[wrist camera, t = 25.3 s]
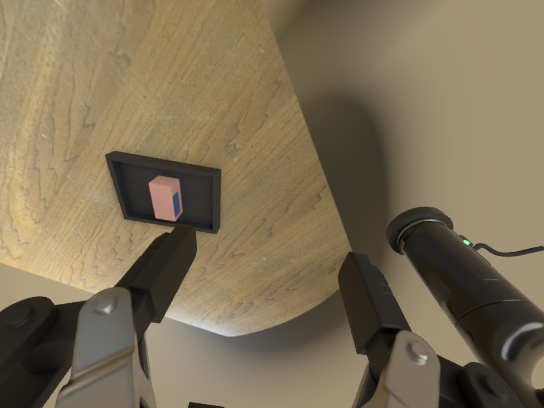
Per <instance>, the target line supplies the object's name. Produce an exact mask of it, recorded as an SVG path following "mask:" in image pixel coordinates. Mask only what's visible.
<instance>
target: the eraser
mask: <svg viewBox="0 0 544 408" xmlns="http://www.w3.org/2000/svg"><path fill="white" fill-rule="evenodd" d="M149 188H150V193H151V198H152V203H153V208H154V213H155V218H158V219H164V220H170V221H176V220H177V218H178V217H179V216H180V215H181V213H182V212H183V210H182V201H181V191H180V182H179V179H176V178H170V177H164V176H158V177H156V178H155V179H154V180H152V181H151V182H149Z"/></svg>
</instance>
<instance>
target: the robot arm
mask: <svg viewBox="0 0 544 408" xmlns="http://www.w3.org/2000/svg"><path fill="white" fill-rule="evenodd" d="M396 243H397V246H398V247H399V249H400V250H401V252H403V253H404V255H405V256H406V258H407V259H408V261H409V262H410V263H411V265H412V267H413V268H414V269H415V271H416V272H417V273H418V275H419V277H420V278H421V279H422V281H423V282H424V284H425V285H426V287H427V288H428V290H429V291H430V292H431V294H432V295H433V297H434V298H435V300H436V301H437V302H438V304H439V305H440V307H441V308H442V310H443V311H444V312H445V314H446V315H447V317H448V318H449V320H450V321H451V323H452V324H453V325H454V327H455V328H456V330H457V331H458V333H459V334H460V336H461V337H462V338H463V340H464V341H465V343H466V344H467V345H468V347H469V348H470V350H471V351H472V353H473V354H474V355H475V357H476V358H477V360H478V361H479V363H476V362H470V363H468V364H467V365H465V366H463V367H462V366H460V365H458V364H456V363H454V362H451V361H449V360H447V359H445V358H443V357H441V356H439V355H437V354H436V353H435V352H434V350H433V349H432V348H431V346H430V345H429V344H428V343H427V342H426V341H425V340H424V339H423V338H421V337H420V336H418V335H417V334H415V333H413V332H412V330H411V329H410V327H409V325H408V323H407V321H406V319H405V317H404V315H403V313H402V311H401V309H400V307H399V305H398V303H397V301H396V299H395V297H394V296H393V293H392V291H391V289H390V287H388V283H387V281H386V279H385V278H384V275H383V274H382V273H381V272H380V271H379V270H378V269H377V268H376V267H375V266H372V265H371V263H370V261H369V259H368V257H367V255H366V254H362V253H355V252H349V253H348V255H347V256H346V258H345V260H344V262H343V264H342V266H341V268H340V270H339V274H338V282H339V287H340V290H341V294H342V298H343V301H344V306H345V309H346V314H347V317H348V321H349V325H350V329H351V333H352V336H353V340H354V344H355V348H356V352H357V354H362V355H367V357H368V360H369V363H368V364H367V366H366V368H365V371H364V374H363V377H362V380H361V383H360V385H359V388H358V392H357V394H356V397H355V400H354V403H353V406H352V408H544V388H543V389H535V388H534V387H533V386H532V383H531V375H532V372H533V369H534V367H535V366H536V364H537V362H538V361H539V360H540V359H541V358H542V357H543V356H544V312H543V311H542V310H541V309H540V308H538V307H537V306H536V305H535V304H534V303H533V302H532V301H531V300H529V299H528V298H527V297H526V296H525V295H524V294H523V293H522V292H520V291H519V290H518V289H517V288H516V287H515V286H514V285H512V284H511V283H510V282H509V281H508V280H506V278H504V277H503V276H502V275H501V274H500V273H499V272H498V271H497V270H495V269H494V268H493V267H492V266H491V264H490V263H489V262H488V261H487V260H486V259H485V258H484V257H483V256H481V255H480V254H479V253H478V252H477V251H476V250H479V249H480V248H481V247H482V248H485V249H486V250H488V251H489V252H491V253H493V254H494V255H497V256H503V257H512V256H520V255H524V254H529V253H533V252H538V251H543V250H544V247H543V246H540V247H534V248H530V249H526V250H521V251H517V252H509V253H502V252H498V251H496V250H494V249H492V248H491V247H489V246H488V245H486V244H482V243H479V244H476V245H475V246H474V247H472V246H473V244H472V243H471V242H470V241H469V240H467V239H466V238H465V237H464V236H461V235H458V234H456V233H455V232H454V231H453V230H452V229H451V228H448V227H447V225H446V224H445V223H444V222H442V221H441V220H439V219H436V218H421V219H417V220H415V221H412V222H410V223H408V224H407V225H405V226H404V227H403V228H402V229H401V230H400V231H399V233H398V235H397V237H396ZM196 252H197V242H196V229H195V227H194V226H190V225H184V224H178V225H177V226H176V227H175V228H174V230H173V231H172V232H171V233H167V232H165V233H164V234H162V235H161V236H159V237H157V238H156V239H155V240H154V241H153V242H152V243H151V244H150V246H149V247H148V249H146V250H145V251H144V253H143V254H142V256H140V257H139V258H138V260H137V261H136V262H135V263H134V264H133V265H132V267H131V268H130V269H129V270H128V271H127V273H126V274H125V275H124V276H123V277H122V278H121V280H120V281H119V282H118V283H117V284H116V285H115V286H114V287H113V288H108V289H105V290H102V291H100V292H98V293H97V294H95V295H93V296H92V297H91V298H90V299H88V300H86V301H80V302H73V303H67V304H60V305H54V303H52V301H51V300H50V299H49V298H47V297H40V296H38V297H32V298H27V299H24V300H21V301H19V302H17V303H14V304H12V305H10V306H9V307H7V308H5V309H4V310H2V311H1V312H0V408H42V407H43V406H44V404H45V403H46V401H47V400H48V399H49V397H50V396H51V394H52V393H53V392H54V390H55V389H56V387H57V386H58V385H59V383H60V382H61V380H62V379H63V377H64V376H65V375H66V373H67V372H68V370H69V369H70V368H71V366H72V369H71V376H70V380H69V382H68V384H66V385H64V386H63V387H62V388H61V390H60V392H59V394H58V396H57V400H56V404H55V408H156V401H155V396H154V392H153V388H152V382H151V375H150V367H149V358H148V350H147V342H146V333H145V332H146V330H147V328H148V326H149V325H150V323H151V322H153V323H160V322H161V321H162V319H163V317H164V315H165V313H166V311H167V310H168V308H169V306H170V304H171V302H172V300H173V298H174V296H175V294H176V293H177V291H178V289H179V287H180V285H181V283H182V281H183V279H184V278H185V276H186V274H187V272H188V270H189V268H190V266H191V264H192V263H193V261H194V259H195V256H196ZM188 408H224V407H221V406H214V405H207V404H200V403H193V402H189V406H188Z"/></svg>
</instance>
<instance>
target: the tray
mask: <svg viewBox="0 0 544 408" xmlns="http://www.w3.org/2000/svg"><path fill="white" fill-rule="evenodd" d="M105 157H106V160H107V164H108V167H109V170H110V173H111V177H112V180H113V183H114V187H115V190H116V193H117V196H118V200H119V203H120V206H121V210H122V213H123V216H124V219H127V220H133V221H139V222H145V223H151V224H158V225H164V226H170V227H176V226H177V225H178V224H184V225H190V226H194V227H195V229H196V231H201V232H207V233H213V234H217V232H218V230H219V228H220V194H221V169H215V168H209V167H204V166H198V165H192V164H186V163H181V162H175V161H169V160H163V159H158V158H152V157H146V156H140V155H135V154H129V153H123V152H117V151H114V152H111V153H109V154H106V155H105ZM158 176H164V177H170V178H176V179H179V182H180V191H181V201H182V210H183V212H182V213H181V215H180V216H179V217H178V218H177V220H176V221H170V220H164V219H158V218H155V213H154V208H153V203H152V198H151V193H150V188H149V182H151V181H152V180H154V179H155V178H156V177H158Z"/></svg>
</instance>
